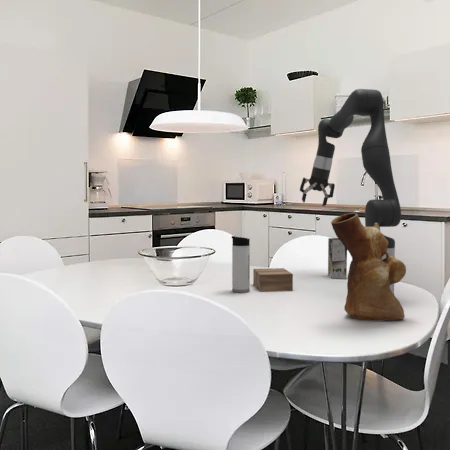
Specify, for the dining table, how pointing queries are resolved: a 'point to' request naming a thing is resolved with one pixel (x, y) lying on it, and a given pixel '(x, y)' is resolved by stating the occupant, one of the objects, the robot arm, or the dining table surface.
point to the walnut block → (273, 279)
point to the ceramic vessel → (369, 271)
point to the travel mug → (240, 264)
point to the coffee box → (337, 258)
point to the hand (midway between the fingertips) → (313, 204)
